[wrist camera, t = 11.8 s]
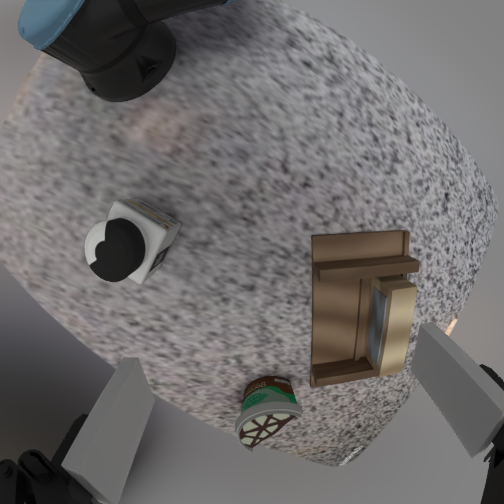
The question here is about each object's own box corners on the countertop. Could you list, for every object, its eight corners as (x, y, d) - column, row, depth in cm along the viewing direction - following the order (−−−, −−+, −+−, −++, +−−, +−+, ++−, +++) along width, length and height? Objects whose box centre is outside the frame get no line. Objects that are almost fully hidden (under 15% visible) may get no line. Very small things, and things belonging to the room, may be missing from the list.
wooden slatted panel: (311, 235, 38) (319, 242, 33) (403, 230, 38) (420, 235, 33) (309, 384, 44) (314, 402, 39) (387, 370, 44) (397, 385, 39)
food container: (267, 358, 43) (271, 398, 33) (295, 374, 43) (304, 415, 34) (223, 399, 45) (218, 440, 35) (250, 413, 45) (250, 453, 36)
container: (183, 223, 38) (150, 240, 25) (159, 269, 39) (122, 303, 27) (138, 197, 37) (90, 202, 24) (117, 242, 38) (69, 265, 26)
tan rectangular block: (370, 274, 38) (391, 290, 32) (395, 271, 38) (418, 286, 31) (363, 353, 41) (377, 377, 35) (385, 349, 41) (402, 371, 35)
